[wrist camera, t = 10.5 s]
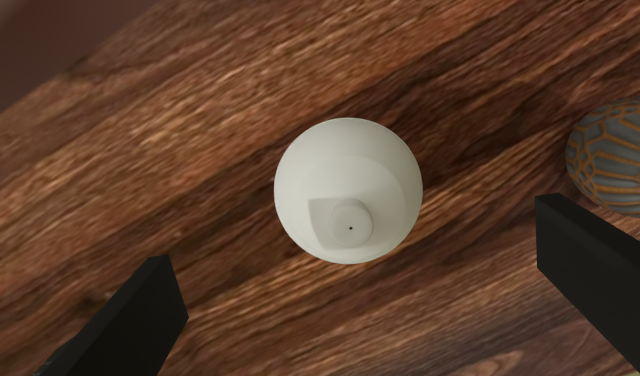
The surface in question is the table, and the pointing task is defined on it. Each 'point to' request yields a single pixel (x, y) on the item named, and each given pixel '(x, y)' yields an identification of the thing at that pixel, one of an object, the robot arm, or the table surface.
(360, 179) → the spinning top
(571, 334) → the table surface
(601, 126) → the vase
